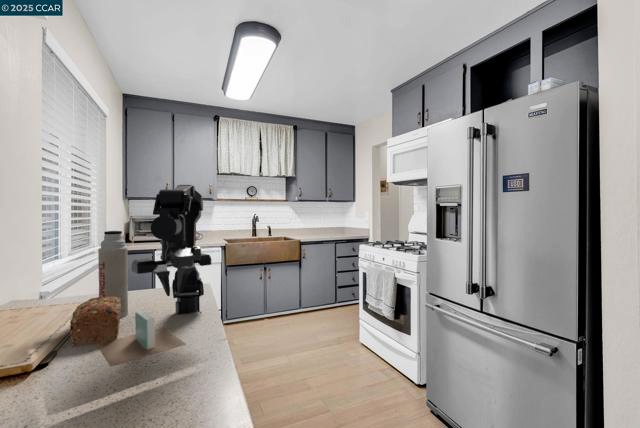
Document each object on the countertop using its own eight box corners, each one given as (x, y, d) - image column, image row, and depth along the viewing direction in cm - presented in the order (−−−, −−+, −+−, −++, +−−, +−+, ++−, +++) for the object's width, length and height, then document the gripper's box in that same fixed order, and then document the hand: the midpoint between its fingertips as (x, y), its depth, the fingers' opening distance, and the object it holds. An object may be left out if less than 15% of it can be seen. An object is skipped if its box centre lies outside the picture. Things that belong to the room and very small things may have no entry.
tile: (143, 336, 83) (143, 310, 83) (154, 347, 77) (154, 318, 77) (135, 338, 82) (135, 312, 82) (146, 349, 75) (146, 320, 75)
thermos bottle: (102, 322, 98) (101, 232, 98) (96, 316, 103) (95, 231, 103) (131, 315, 104) (130, 230, 104) (123, 310, 109) (123, 229, 109)
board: (164, 331, 90) (163, 327, 90) (186, 348, 79) (186, 343, 79) (96, 348, 79) (96, 344, 79) (110, 371, 67) (110, 366, 67)
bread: (119, 344, 82) (118, 305, 82) (67, 353, 77) (66, 312, 77) (122, 322, 98) (122, 290, 98) (79, 328, 93) (79, 295, 93)
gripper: (144, 240, 72) (144, 309, 72) (220, 236, 85) (220, 293, 85) (130, 238, 80) (131, 299, 80) (202, 234, 93) (202, 286, 93)
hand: (174, 294), depth 84 cm, fingers open, 3 cm apart
